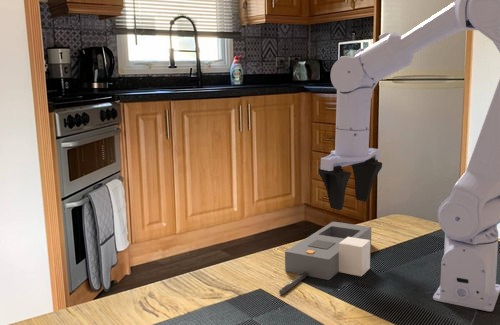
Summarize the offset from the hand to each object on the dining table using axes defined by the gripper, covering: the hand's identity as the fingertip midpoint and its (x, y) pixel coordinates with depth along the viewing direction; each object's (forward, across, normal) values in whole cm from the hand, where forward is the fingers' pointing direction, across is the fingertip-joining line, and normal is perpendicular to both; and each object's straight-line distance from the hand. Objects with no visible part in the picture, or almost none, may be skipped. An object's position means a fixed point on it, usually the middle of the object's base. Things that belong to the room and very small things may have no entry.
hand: (349, 204), depth 91 cm
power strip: (+10, +6, -1) cm, 12 cm away
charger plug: (+10, +4, +5) cm, 12 cm away
